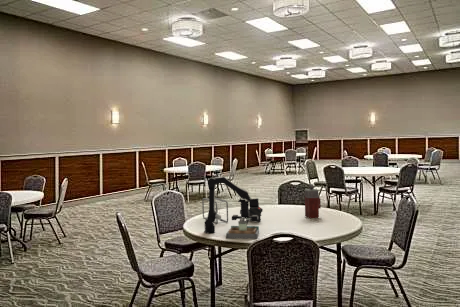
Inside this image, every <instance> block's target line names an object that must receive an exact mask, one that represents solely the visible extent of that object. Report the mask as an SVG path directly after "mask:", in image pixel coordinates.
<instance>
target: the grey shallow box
mask: <svg viewBox="0 0 460 307" xmlns="http://www.w3.org/2000/svg"><path fill="white" fill-rule="evenodd" d="M230 229H231V228H230ZM230 229H228V231H227V232H226V233H225V238H226V239H247V238H250V240H253V239H258V237H259V235H260V229H259V230H257V232H256V234H237V233H229V230H230Z"/></svg>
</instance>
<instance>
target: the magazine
mask: <svg viewBox="0 0 460 307" xmlns="http://www.w3.org/2000/svg"><path fill="white" fill-rule="evenodd" d="M262 212H264V210H263V208H262V207H261V206H259V208H251V207H250V206H249V216H253V215H258V220H252V219H250V221H249V222H253V223H254V222H255V223H260V222H261V220H262V218H261V216H262Z"/></svg>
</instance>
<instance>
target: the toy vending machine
mask: <svg viewBox="0 0 460 307" xmlns="http://www.w3.org/2000/svg"><path fill="white" fill-rule="evenodd" d="M308 187H309V188H305V189H304V217H305V216H306V217H305V218H307V217H308V218H307V219H318V217H319V218H320V209H322V208H321V197H320V196H319V189H317V188H314V187H315V186H314V184H313V183H309V185H308Z"/></svg>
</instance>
